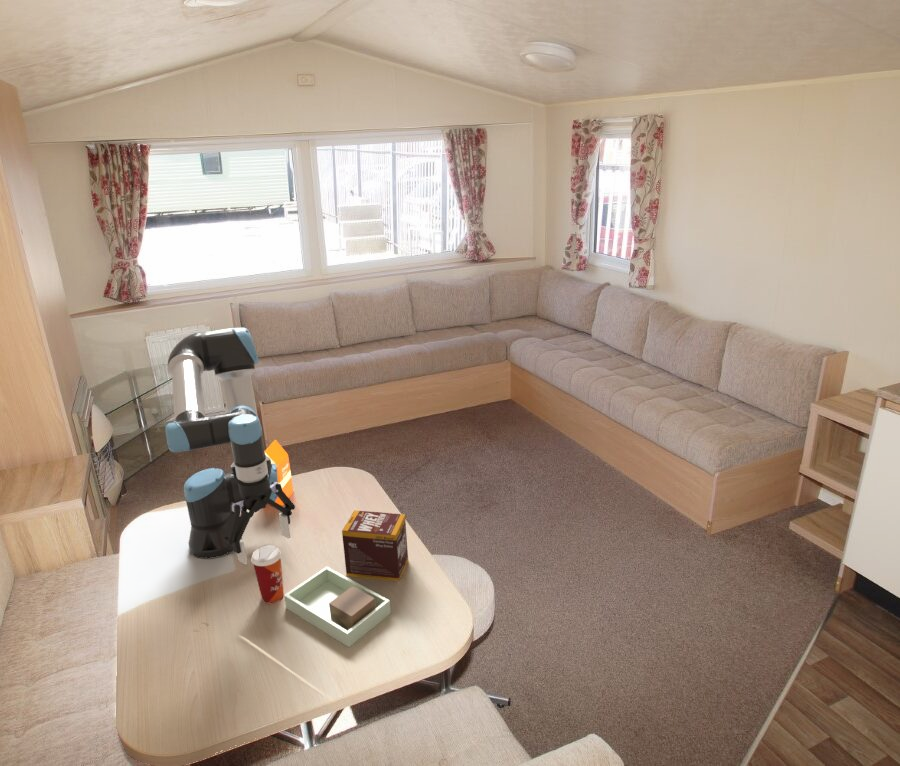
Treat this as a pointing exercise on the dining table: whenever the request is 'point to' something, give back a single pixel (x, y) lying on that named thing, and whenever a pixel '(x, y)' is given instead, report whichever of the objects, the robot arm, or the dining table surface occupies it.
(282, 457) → the orange juice
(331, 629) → the tote
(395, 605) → the dining table surface
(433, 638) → the dining table surface
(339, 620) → the walnut block
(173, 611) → the dining table surface
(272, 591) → the paper cup
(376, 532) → the supplement box
